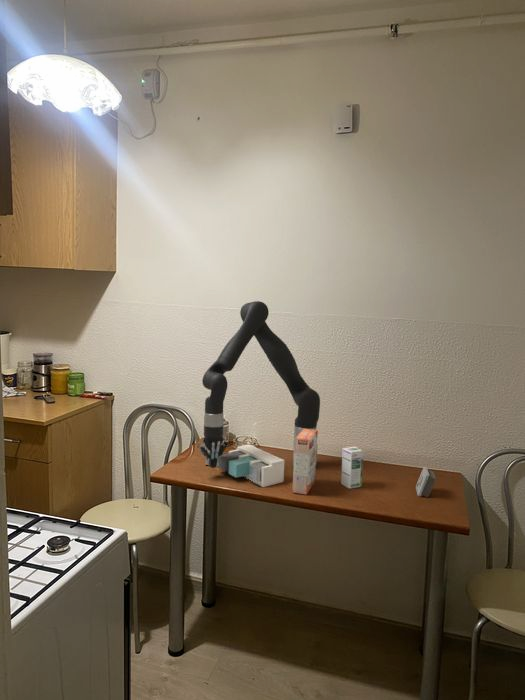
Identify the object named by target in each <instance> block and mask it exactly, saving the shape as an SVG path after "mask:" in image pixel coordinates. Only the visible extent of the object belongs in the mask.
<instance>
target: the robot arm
mask: <svg viewBox="0 0 525 700" xmlns="http://www.w3.org/2000/svg"><path fill="white" fill-rule="evenodd" d="M269 311H270V310H269V307H268V305H267V304H266V303H264V301H258V300H257V301H255V300H254V301H252V302H247V303H245V304H243V305H242V306H241V308H240V312H239V314H240V318H241V320H242V324H241V326H240V327H239V329H238V330H237V332H235V334H234V335H233V336H232V337H231V338H230V339H229V341H228V342H227V344H225V346H224V348H223V349H222V351H221V352H220V354H219V356H218V357H217V359H216V360H215V362H213V363H212V365H210V366H209V367H208V369H207V370H206V371H205V372H204V375H203V376H202V385H203V387H204V388H205V389H207V390H209V391H210V394H209V395H210V396H208V397H206V398H205V402H204V417H203V441H202V443H201V444H200V445H197V449H198V450H199V451H200V452H201V454H203V456H204V457H205V458H206V457H207V458H209V466H208V467H210V468H212V469H213V468H214V469H215V468H217V467H218V466H217V458H218V456H221V455H223V453H224V452H225V450H226V449H227V447H228V445H229V442H227V441H226V440H224V425H225V424H224V422H225V421H224V420H225V419H224V401H225V398H226V394H227V391H228V390H227V389H228V380H227V378H226V376H225V373H226V372H231V371H232V370H233V369H234V368H235V366H236V364H237V363H238V360H239V359H240V357H241V355H242V354H243V352H244V350H245V349H246V347H247V346H248V344H249V342H251V340H252V338H253V337H254V338H255V339H256V341H257V343H259V346H260V347H261V349H262V350H263V351H262V352H264V354H265V355H266V357H267V359H268V361H269V363H270V364H271V365H272V367H273V368H274V370H275V372H276V374H278V375H279V377H280V378H281V380H282V381H283V382H284V383H285V386H286V387H287V389H288V391H289V393H290V395H291V397H292V399H293V401H294V403H295V405H296V406H297V416H296V417H295V419H294V428H293V429H294V432H293V449H292V451H293V454H292V455H293V456H292V466H293V467H294V456H295V439H296V437H297V436H298V435H299V434H300V432H301V431H302V430H303V429H311V430H317V428H318V427H317V426H318V422H319V418H320V409H321V397H320V395H319V393H318V392H317V391H316V390H314V389H312V388H311V387H310V386H309V385H308V384H307V383H306V381H305V380H304V378H303V377H302V374H300V371H299V367H298V364H297V362H296V359H295V357H294V355H293V353H292V352H291V350H290V349H289V346H288V345H287V344H286V342H285V341H283V340H282V339H281V338H280V337H279V336H278V335H277V334H276V333H275V332H274V331H273V330H272V329H271V328H270V327H269V325H268V324H267V322H266V321H267V319H268V318H269ZM317 431H318V430H317ZM206 447H207V451H208V452H207V451H206ZM317 459H318V448H317V449H316V465H315V467H316V466H317V464H318V463H317V462H318V460H317Z"/></svg>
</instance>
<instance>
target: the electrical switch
mask: <svg viewBox="0 0 525 700" xmlns="http://www.w3.org/2000/svg"><path fill="white" fill-rule="evenodd" d="M436 480H437V478H436V475H435V472H434V471H433V470H430V469H428V467H427V466H423V468H422V470H421V472H420V475H419V477H418V480H417V483H416V484H415V491H416V493H417V494H416V495H417V496H418V497H420V498H421V497H422V496H423V497H426V498H429V496H430V495H431V492H432V490H433V487H434V485H435V482H436Z"/></svg>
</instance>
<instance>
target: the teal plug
mask: <svg viewBox="0 0 525 700" xmlns="http://www.w3.org/2000/svg"><path fill="white" fill-rule="evenodd" d="M253 460H256V459H254V458H252V457H246V458H241V459H236V460H232V461H229V471H228V475H230V476H232V477H234V478H240V477H243V476H245V475H249V465H250V461H253Z"/></svg>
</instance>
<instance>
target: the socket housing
mask: <svg viewBox="0 0 525 700" xmlns="http://www.w3.org/2000/svg"><path fill="white" fill-rule="evenodd" d="M236 447H237V448H236V449H234V450H229V451H228V454H229V453H234V452H241V453H243V454H245V455H240V456H239V459H241V458H246V457H252V458H254V459H256V460H253V461H250V465H251V464H255V463H260V462H264V463H266V464H269V466H264V467H262V469H261V481H258V482H256V481H254V480H252V479H250V478H248V475H245V476H244V477H243V478H245V477H246V478H245V479H246V480H248V479H249V481H250V480H251V481H250V482H252V481H253V483H254V484H256V485H258V486H260V487H262V488H265V487H269V486H273V485H276V484H280V483H284V481H285V479H284V475H285V459H283V458H280V457H279V456H276V455H273V454H272V453H269V452H268V451H267V452H266V451H264V450H262V449H260V448H258V447H255V446H253V445H251V444H244V445H240V446H239V445H238V446H236Z"/></svg>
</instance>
